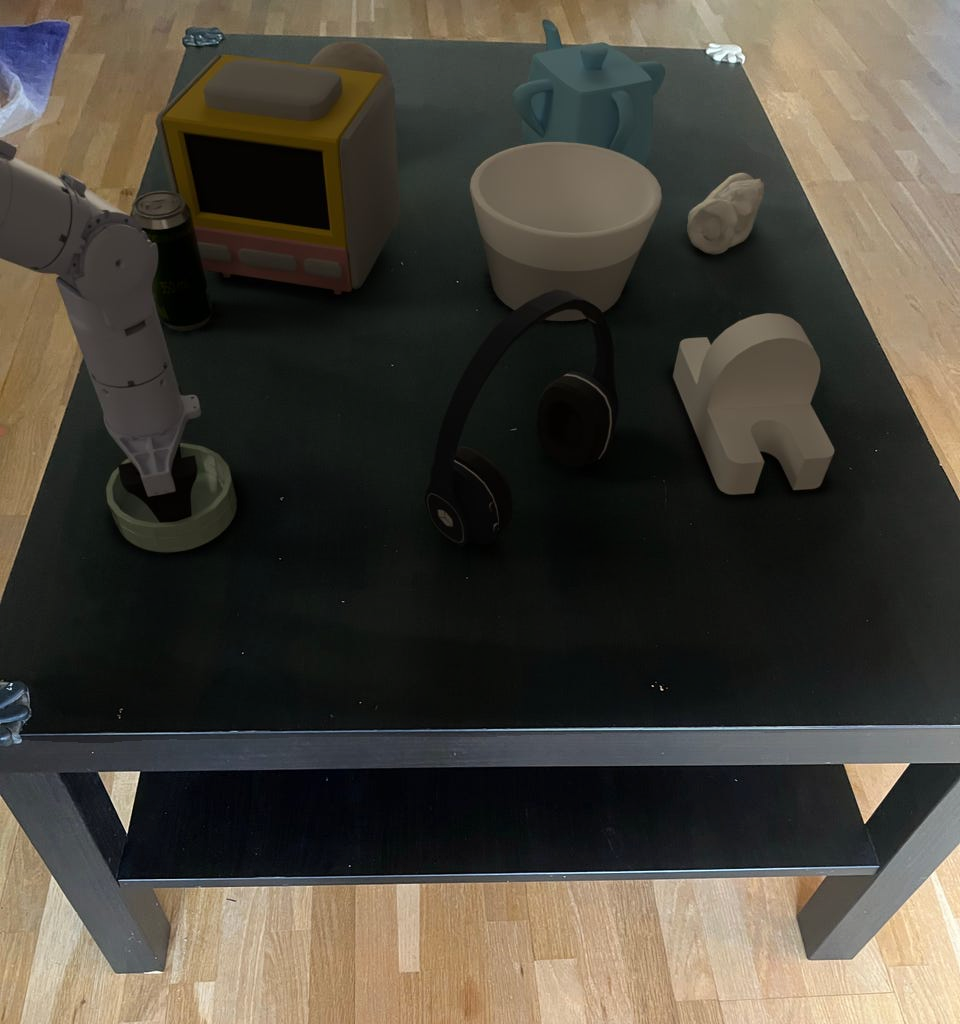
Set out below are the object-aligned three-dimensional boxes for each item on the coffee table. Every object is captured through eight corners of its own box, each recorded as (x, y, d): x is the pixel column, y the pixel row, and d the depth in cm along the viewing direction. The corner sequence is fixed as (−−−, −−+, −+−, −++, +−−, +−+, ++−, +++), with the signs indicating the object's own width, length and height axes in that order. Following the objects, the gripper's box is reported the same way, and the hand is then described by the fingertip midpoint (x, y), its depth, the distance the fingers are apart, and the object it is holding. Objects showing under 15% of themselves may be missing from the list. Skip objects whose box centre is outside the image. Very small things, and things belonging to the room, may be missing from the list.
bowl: (524, 220, 112) (530, 124, 104) (674, 270, 106) (693, 174, 98) (433, 297, 102) (432, 198, 93) (594, 358, 96) (608, 258, 87)
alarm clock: (185, 284, 102) (141, 101, 88) (241, 211, 112) (209, 35, 97) (362, 312, 100) (347, 128, 85) (403, 234, 109) (396, 58, 95)
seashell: (388, 174, 132) (344, 56, 127) (441, 141, 121) (394, 10, 115) (296, 206, 125) (245, 84, 120) (343, 174, 114) (289, 37, 109)
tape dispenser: (721, 495, 84) (751, 395, 76) (670, 370, 95) (691, 270, 86) (825, 487, 85) (867, 387, 76) (763, 364, 96) (793, 264, 87)
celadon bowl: (121, 563, 77) (110, 538, 75) (112, 481, 83) (102, 454, 81) (245, 539, 79) (238, 513, 77) (228, 460, 85) (221, 433, 83)
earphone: (472, 574, 78) (477, 389, 63) (413, 531, 80) (404, 344, 66) (624, 457, 87) (658, 271, 72) (566, 422, 90) (587, 237, 75)
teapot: (666, 153, 123) (687, 37, 112) (620, 210, 114) (638, 89, 103) (537, 122, 128) (545, 7, 117) (483, 174, 118) (486, 54, 108)
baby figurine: (733, 204, 116) (786, 159, 109) (733, 289, 113) (788, 249, 105) (677, 175, 112) (728, 126, 105) (676, 262, 109) (729, 219, 102)
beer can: (204, 297, 101) (178, 184, 91) (220, 324, 98) (195, 211, 88) (154, 310, 99) (122, 196, 90) (168, 338, 96) (137, 224, 87)
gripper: (199, 415, 65) (235, 550, 76) (173, 297, 74) (209, 434, 85) (92, 435, 64) (144, 569, 75) (78, 312, 72) (127, 449, 83)
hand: (173, 499), depth 80 cm, fingers closed on eraser, 5 cm apart
